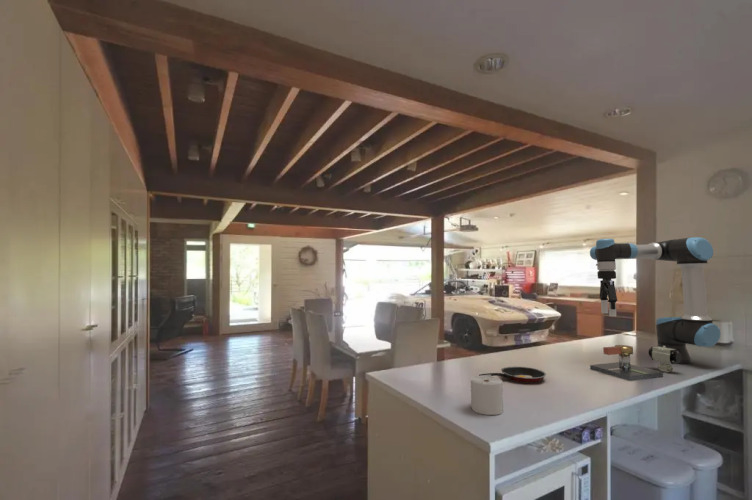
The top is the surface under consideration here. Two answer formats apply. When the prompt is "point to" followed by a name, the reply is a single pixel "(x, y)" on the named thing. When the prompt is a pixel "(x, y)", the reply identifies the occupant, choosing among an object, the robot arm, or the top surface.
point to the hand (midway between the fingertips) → (608, 314)
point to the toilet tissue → (486, 395)
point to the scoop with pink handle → (618, 350)
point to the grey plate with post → (626, 369)
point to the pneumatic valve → (665, 357)
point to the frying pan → (521, 374)
